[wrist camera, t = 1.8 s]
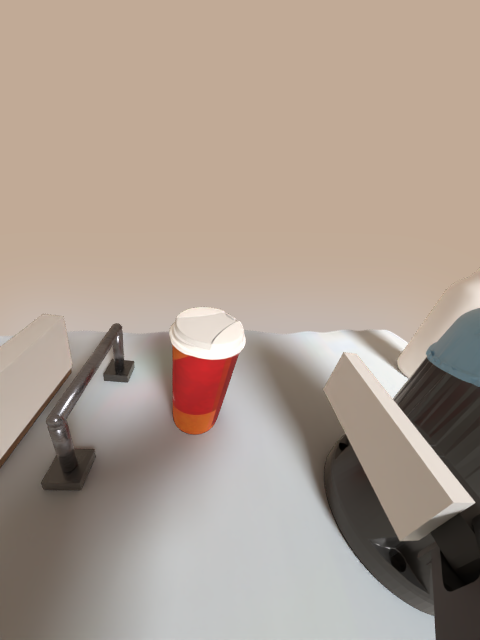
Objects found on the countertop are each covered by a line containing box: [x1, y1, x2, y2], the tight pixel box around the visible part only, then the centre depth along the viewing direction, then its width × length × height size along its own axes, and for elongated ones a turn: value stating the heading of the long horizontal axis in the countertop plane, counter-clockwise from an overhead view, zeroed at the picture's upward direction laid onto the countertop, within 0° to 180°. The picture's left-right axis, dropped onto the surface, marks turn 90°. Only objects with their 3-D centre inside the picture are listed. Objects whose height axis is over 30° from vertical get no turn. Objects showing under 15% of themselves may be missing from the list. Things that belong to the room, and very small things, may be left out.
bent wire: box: [41, 323, 134, 490], centre depth 26 cm, size 3×16×8 cm, turn 4°
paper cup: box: [169, 307, 246, 435], centre depth 27 cm, size 8×8×14 cm
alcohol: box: [397, 268, 480, 378], centre depth 42 cm, size 9×9×30 cm
